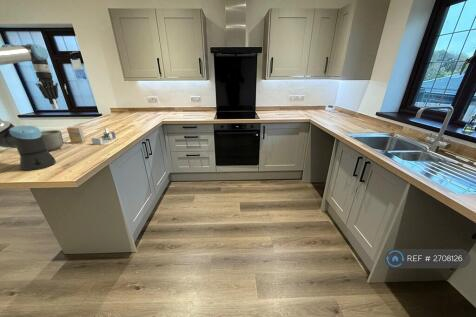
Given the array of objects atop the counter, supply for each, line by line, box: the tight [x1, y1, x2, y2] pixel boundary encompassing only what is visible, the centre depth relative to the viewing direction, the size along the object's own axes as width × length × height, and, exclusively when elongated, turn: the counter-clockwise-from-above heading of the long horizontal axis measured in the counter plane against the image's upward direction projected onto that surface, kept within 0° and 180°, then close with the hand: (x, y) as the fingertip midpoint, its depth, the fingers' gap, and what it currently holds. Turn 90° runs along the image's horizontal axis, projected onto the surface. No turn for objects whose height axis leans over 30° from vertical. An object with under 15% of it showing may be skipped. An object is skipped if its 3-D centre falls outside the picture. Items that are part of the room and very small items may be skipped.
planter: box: [40, 129, 64, 152], centre depth 141 cm, size 14×14×13 cm
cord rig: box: [91, 131, 117, 146], centre depth 163 cm, size 20×8×6 cm, turn 175°
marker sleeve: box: [102, 126, 113, 139], centre depth 165 cm, size 3×5×9 cm, turn 85°
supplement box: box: [66, 126, 86, 144], centre depth 157 cm, size 8×5×13 cm, turn 105°
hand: (55, 108), depth 134 cm, fingers closed
